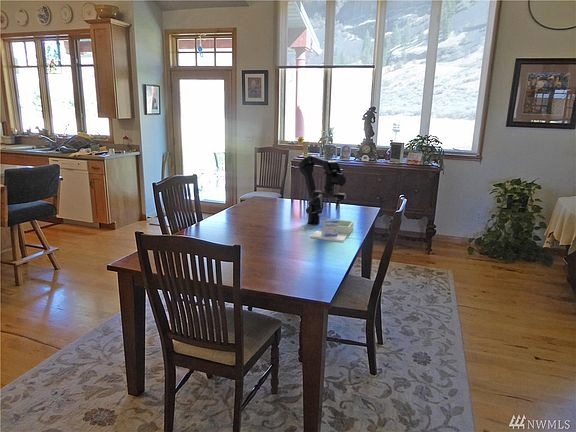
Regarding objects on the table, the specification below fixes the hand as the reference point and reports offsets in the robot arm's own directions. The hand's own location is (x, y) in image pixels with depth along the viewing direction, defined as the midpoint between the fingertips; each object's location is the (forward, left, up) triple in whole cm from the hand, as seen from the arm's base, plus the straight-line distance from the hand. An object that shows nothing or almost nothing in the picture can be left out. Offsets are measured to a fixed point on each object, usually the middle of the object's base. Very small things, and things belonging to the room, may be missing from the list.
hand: (328, 209), depth 236 cm
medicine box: (+5, -15, -11) cm, 19 cm away
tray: (+5, -15, -12) cm, 20 cm away
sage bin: (+7, -2, -12) cm, 14 cm away
